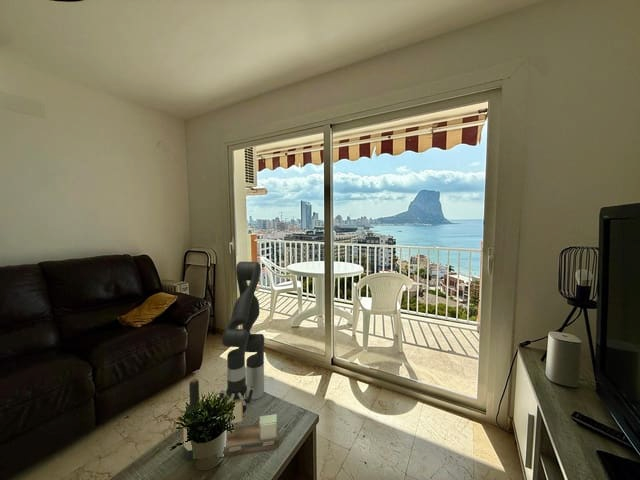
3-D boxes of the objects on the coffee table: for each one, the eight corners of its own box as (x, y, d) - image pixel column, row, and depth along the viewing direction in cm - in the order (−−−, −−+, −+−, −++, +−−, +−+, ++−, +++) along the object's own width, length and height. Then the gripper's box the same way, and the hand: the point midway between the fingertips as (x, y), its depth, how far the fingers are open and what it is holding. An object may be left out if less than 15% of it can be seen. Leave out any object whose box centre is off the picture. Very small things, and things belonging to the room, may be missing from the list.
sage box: (260, 434, 108) (259, 416, 108) (276, 431, 109) (276, 414, 109) (259, 443, 103) (259, 424, 103) (276, 440, 105) (276, 422, 104)
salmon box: (230, 423, 104) (230, 405, 103) (233, 410, 111) (232, 393, 110) (242, 421, 105) (241, 403, 104) (244, 409, 112) (243, 392, 111)
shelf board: (222, 433, 111) (222, 426, 110) (277, 425, 115) (277, 417, 115) (216, 459, 99) (216, 450, 98) (278, 448, 103) (278, 440, 103)
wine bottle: (197, 462, 97) (196, 388, 95) (179, 458, 99) (177, 385, 97) (211, 444, 105) (209, 375, 103) (193, 440, 107) (192, 372, 105)
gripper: (254, 368, 111) (255, 404, 113) (220, 371, 109) (221, 408, 110) (253, 378, 104) (254, 417, 105) (216, 382, 101) (218, 422, 103)
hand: (237, 412), depth 108 cm, fingers closed on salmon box, 4 cm apart
